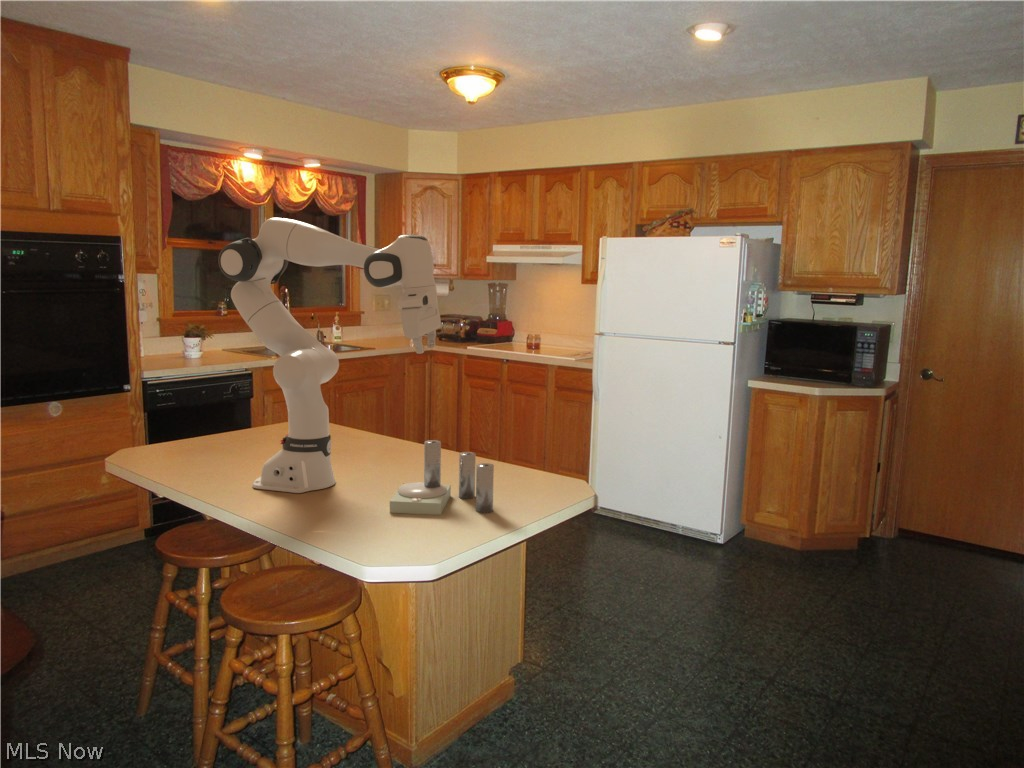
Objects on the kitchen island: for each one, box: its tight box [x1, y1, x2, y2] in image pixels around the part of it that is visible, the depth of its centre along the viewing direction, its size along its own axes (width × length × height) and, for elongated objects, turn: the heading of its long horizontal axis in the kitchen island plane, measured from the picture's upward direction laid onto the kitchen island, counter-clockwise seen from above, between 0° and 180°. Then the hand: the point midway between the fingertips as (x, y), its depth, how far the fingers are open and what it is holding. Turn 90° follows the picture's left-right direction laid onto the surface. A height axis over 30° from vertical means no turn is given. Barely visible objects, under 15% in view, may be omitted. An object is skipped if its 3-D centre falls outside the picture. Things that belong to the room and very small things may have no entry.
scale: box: [389, 481, 452, 516], centre depth 187 cm, size 13×16×4 cm
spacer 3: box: [475, 462, 495, 514], centre depth 182 cm, size 4×4×12 cm
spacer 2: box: [458, 451, 477, 500], centre depth 193 cm, size 4×4×12 cm
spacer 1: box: [423, 439, 442, 488], centre depth 191 cm, size 4×4×12 cm
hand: (426, 350), depth 187 cm, fingers open, 8 cm apart
